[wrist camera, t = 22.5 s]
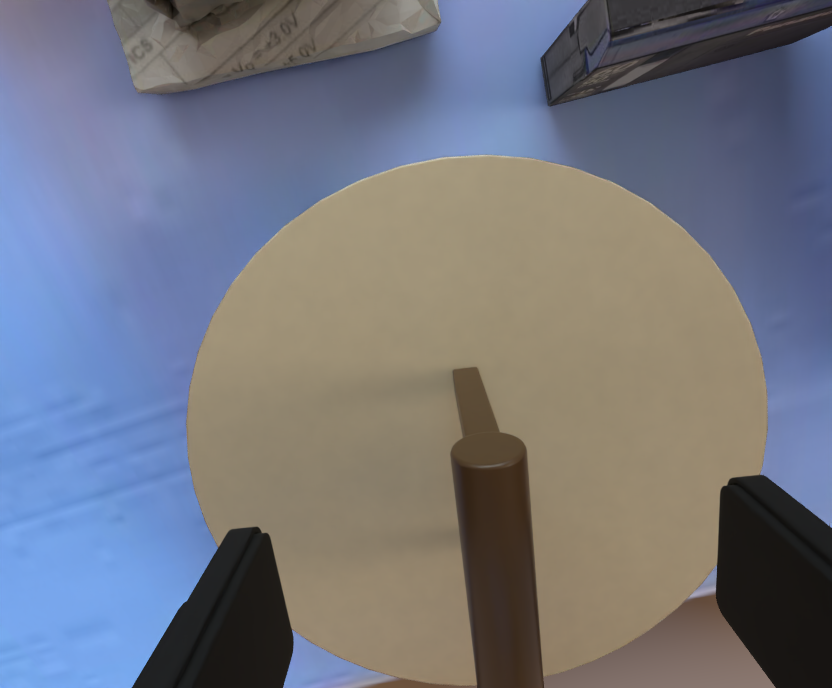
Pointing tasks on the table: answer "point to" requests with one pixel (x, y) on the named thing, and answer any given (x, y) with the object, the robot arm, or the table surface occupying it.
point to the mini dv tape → (667, 39)
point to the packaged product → (254, 35)
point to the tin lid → (478, 417)
